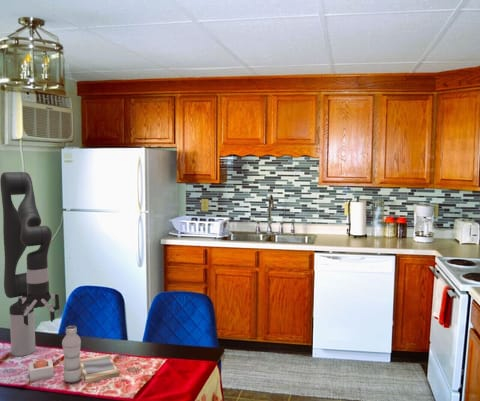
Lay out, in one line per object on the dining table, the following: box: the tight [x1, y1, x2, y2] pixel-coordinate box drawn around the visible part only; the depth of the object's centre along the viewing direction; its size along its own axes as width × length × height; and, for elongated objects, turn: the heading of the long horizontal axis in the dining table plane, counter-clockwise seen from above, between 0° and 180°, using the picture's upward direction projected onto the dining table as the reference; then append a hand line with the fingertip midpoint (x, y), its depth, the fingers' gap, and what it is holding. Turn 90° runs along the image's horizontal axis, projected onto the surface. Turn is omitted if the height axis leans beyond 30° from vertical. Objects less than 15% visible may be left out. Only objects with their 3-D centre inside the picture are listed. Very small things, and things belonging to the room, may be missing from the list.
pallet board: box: [80, 354, 120, 384], centre depth 182 cm, size 18×12×2 cm, turn 27°
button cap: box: [34, 359, 47, 368], centre depth 177 cm, size 4×4×4 cm
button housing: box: [28, 358, 55, 383], centre depth 177 cm, size 8×8×4 cm
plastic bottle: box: [61, 325, 83, 384], centre depth 172 cm, size 6×7×20 cm
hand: (39, 322), depth 175 cm, fingers open, 8 cm apart
